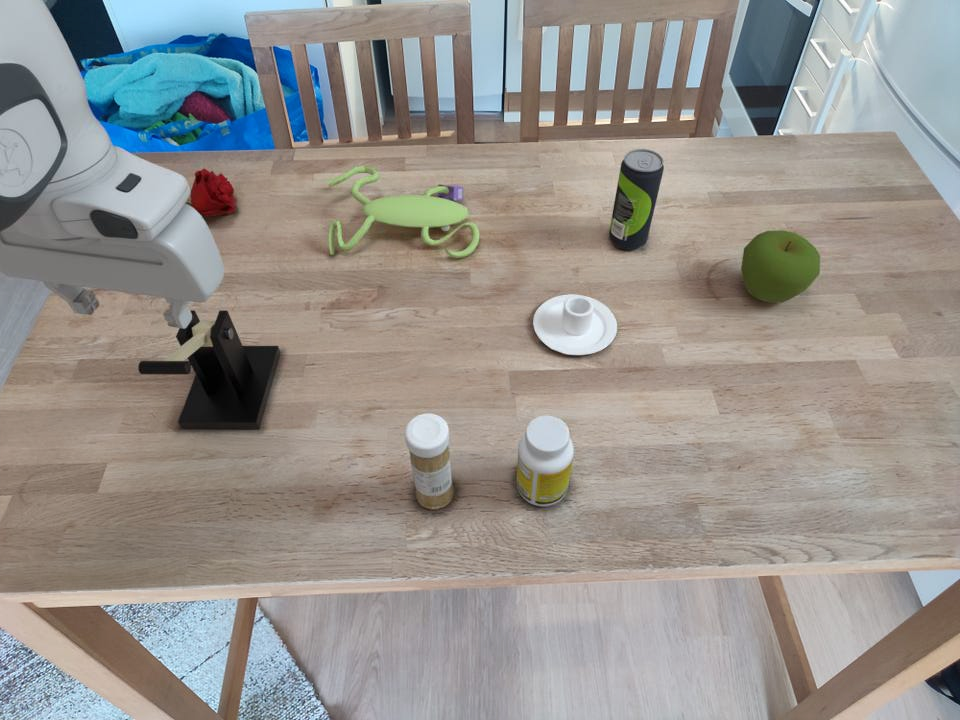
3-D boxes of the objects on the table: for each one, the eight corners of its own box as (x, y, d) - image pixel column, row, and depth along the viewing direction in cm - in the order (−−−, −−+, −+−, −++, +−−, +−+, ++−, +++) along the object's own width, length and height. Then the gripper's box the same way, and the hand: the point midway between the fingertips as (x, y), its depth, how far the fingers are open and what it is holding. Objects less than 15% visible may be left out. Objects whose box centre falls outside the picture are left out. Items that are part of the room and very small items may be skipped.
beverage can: (648, 252, 106) (668, 171, 94) (610, 252, 106) (624, 171, 94) (644, 228, 110) (662, 147, 98) (606, 227, 110) (620, 147, 98)
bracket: (259, 429, 84) (229, 365, 74) (181, 428, 84) (141, 364, 75) (280, 352, 93) (256, 286, 83) (210, 352, 93) (177, 285, 83)
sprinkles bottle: (450, 474, 80) (444, 408, 69) (457, 507, 77) (452, 443, 66) (412, 481, 79) (401, 415, 69) (418, 515, 76) (407, 452, 66)
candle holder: (555, 368, 90) (557, 347, 87) (519, 310, 97) (520, 289, 94) (631, 343, 93) (637, 322, 90) (591, 289, 100) (595, 268, 97)
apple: (735, 262, 104) (754, 210, 96) (805, 278, 101) (830, 226, 94) (726, 308, 97) (746, 256, 90) (801, 326, 95) (828, 274, 87)
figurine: (337, 188, 118) (332, 160, 114) (486, 193, 116) (485, 166, 112) (312, 255, 106) (304, 227, 102) (477, 263, 104) (476, 235, 100)
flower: (134, 247, 90) (224, 145, 111) (91, 268, 94) (185, 165, 115) (182, 296, 95) (259, 189, 116) (139, 314, 99) (221, 207, 120)
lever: (187, 380, 70) (183, 359, 69) (140, 380, 70) (136, 359, 69) (232, 339, 82) (230, 320, 81) (193, 338, 82) (189, 320, 81)
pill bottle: (575, 473, 79) (585, 420, 71) (557, 516, 76) (566, 465, 67) (527, 455, 81) (531, 402, 73) (507, 496, 78) (510, 445, 69)
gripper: (-84, 196, 50) (12, 325, 60) (165, 226, 48) (220, 355, 58) (-27, 153, 54) (53, 280, 64) (205, 179, 52) (250, 307, 62)
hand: (134, 316), depth 61 cm, fingers open, 8 cm apart
